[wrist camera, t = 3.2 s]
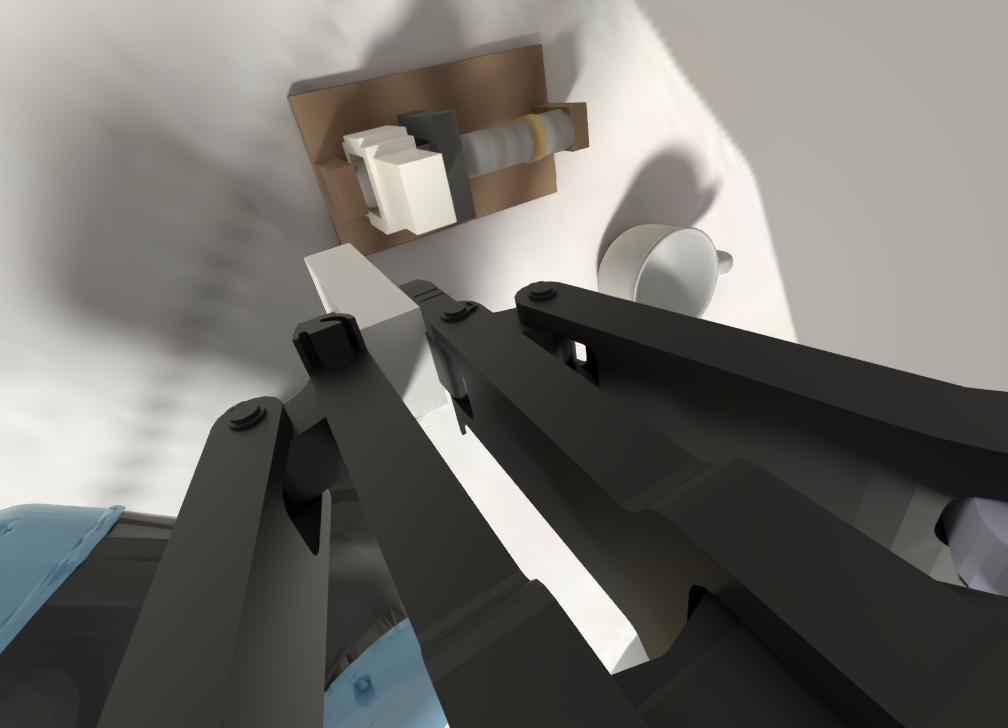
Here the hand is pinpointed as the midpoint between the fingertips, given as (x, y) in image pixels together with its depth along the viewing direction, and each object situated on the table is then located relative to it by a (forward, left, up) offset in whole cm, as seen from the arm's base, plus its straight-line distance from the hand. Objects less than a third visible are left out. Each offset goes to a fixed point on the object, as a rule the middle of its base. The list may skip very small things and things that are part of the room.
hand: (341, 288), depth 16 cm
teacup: (+32, -16, -22) cm, 42 cm away
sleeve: (+7, 0, -20) cm, 21 cm away
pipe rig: (+13, 0, -22) cm, 25 cm away
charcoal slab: (+10, 0, -20) cm, 22 cm away
